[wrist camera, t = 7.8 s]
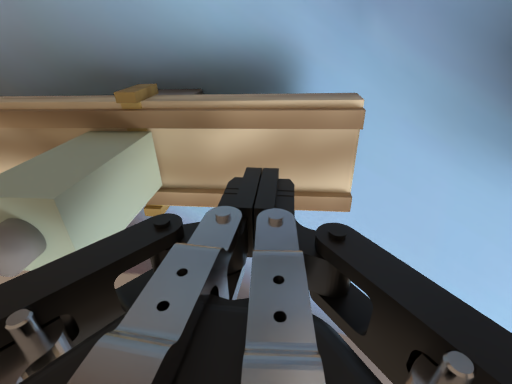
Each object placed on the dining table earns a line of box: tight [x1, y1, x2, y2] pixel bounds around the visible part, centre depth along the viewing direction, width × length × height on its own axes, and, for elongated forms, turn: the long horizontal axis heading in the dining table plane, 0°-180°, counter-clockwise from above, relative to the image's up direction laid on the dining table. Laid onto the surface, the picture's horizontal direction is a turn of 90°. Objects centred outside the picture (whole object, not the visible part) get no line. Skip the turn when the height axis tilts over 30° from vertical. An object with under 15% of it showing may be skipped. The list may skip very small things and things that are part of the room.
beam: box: [0, 84, 366, 216], centre depth 20 cm, size 8×26×8 cm, turn 92°
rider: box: [0, 131, 162, 277], centre depth 14 cm, size 4×4×9 cm
